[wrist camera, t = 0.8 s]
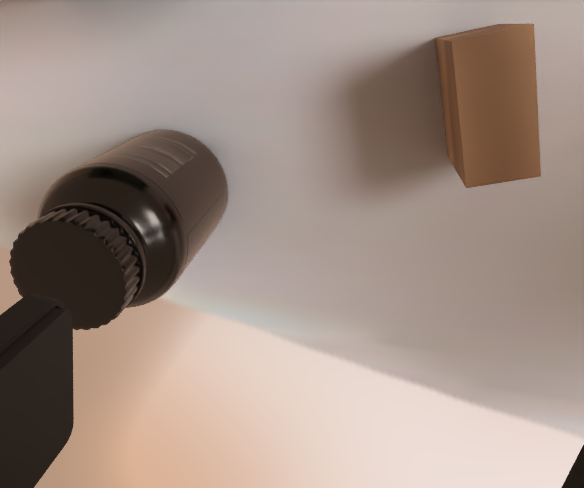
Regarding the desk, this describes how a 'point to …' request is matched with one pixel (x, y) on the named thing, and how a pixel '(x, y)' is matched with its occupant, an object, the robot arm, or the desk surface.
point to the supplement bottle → (121, 226)
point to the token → (490, 103)
